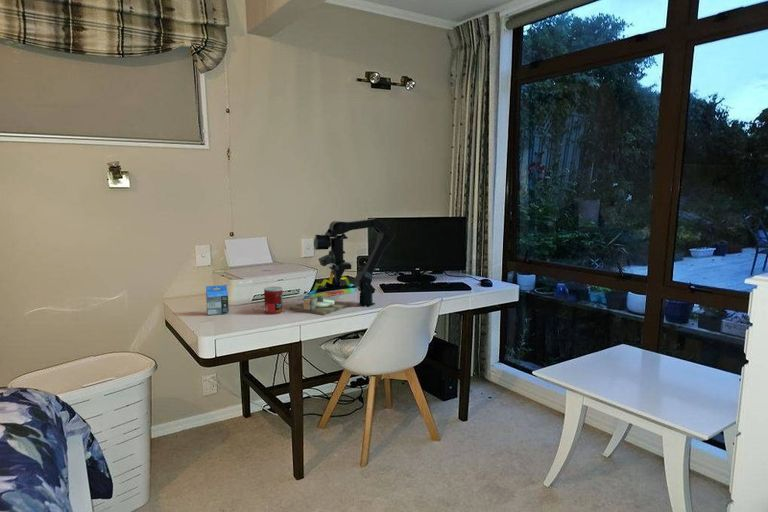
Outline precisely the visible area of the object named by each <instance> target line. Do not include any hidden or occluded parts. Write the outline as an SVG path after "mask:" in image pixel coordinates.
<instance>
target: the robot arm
mask: <svg viewBox="0 0 768 512" xmlns="http://www.w3.org/2000/svg"><path fill="white" fill-rule="evenodd" d="M368 228H372V229H373V230H374V232H376V233H377V235H376V243H375V245H374V248H373V250H372V251H371V254H370V256H369V258H368V260H367V262H366V264H365V266H364V268H363V270H362V271H357V272H356V276H355V277H354V278H353V279H354V283H353V284H354V286H355V287H356V288H357V290H358V291H359V302H358V303H356V304H357V306H360V307H362V306H363V307H371V306H374V305H376V302H373V295H374V294H375V292H376V288H375V287H374V286H373V284H372V281H373V274H374V271H375V269H376V267H377V266H378V263H379V261H380V260H381V257H382V255H383V253H384V251H385V249H386V247H388V245H390V243H391V242H392V241H393V240H394V238H395V236H396V233H395V230H394V229H393V228H390V227H388V226H387V225H385V224H384V223H383V222H381V221H380V220H379V219H378V218H375V217H374V218H373V217H372V218H368V219H360V220H354V221H353V220H352V221H340V220H339V221H338V220H334V221H331V222H330V224H329V227H328V229H327V230H326V232H325V233H324V234H315V236H314V240H313V247H314V250H315V251H321V250H329V248H330V250H329V251H328V254H326V255H323V256H322V257H319V258H318V262H319V264H320V266H322V267H326V266H328V265H329V266H328V268H329V269H330V271H331V270H332V271H333V274H334V276H333V278H334V280H335V283H339V282H340V281H341V280H342V279H341V278H342V277H343V274H344V272H345V270H346V271H348V270H352V264H351V263H350V262H348V261H346V260H345V259H344V254H346V251H345V250H344V240H347V239H349V238H348V236H347V235H346V234H345V233H349V232H350V231H354V230H362V229H368Z"/></svg>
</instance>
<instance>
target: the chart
mask: <svg viewBox="0 0 768 512" xmlns="http://www.w3.org/2000/svg"><path fill="white" fill-rule="evenodd" d="M333 279H334V274H333V271H332V270H331V269H330V275H329V279H326V278H324V279H323V281H322V282H321V283H318V282H315V285H314V286H313V289H312V291H306V290H304V291H303V292H304V293H306V294H309V295H305V296H303V299H306V298H309V297H319V296H322V297H323V298H330V297H335V296H340V295H346V294H350V293H351V294H352V293H355V292H356V291H355V290H356V289H355V288H352V287H353V286H355V284H354V283H350V281H349V279H348V277H346V276H341V279H340V280H343V281H345V283H346V286H347V287H349V288H345V289H339V290H335V291H328V292H320V293H316V292H317V290H318V287H319V286H320V287H324V286H326V283H327V284H331V285H332V284H333Z"/></svg>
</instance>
